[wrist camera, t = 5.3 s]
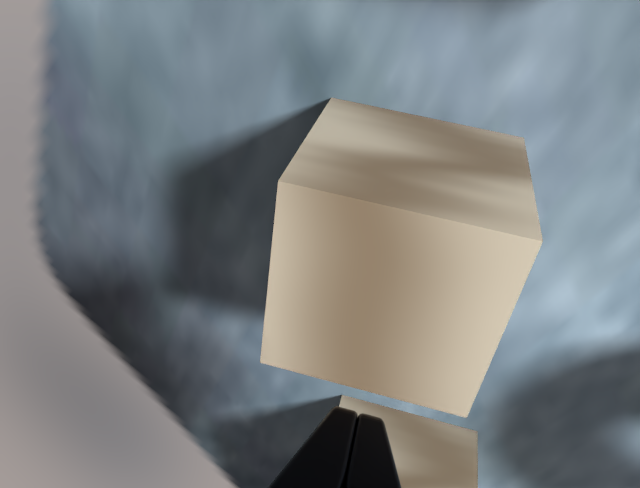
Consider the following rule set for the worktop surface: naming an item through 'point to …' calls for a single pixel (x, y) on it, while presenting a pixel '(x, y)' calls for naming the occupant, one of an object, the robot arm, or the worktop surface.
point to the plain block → (398, 254)
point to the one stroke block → (425, 447)
